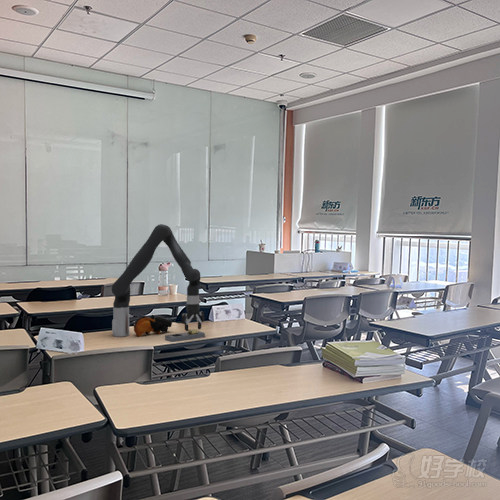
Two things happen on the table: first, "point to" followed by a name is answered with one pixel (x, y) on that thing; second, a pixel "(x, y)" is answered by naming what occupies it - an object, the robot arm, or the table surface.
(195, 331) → the yellow cube
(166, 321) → the toy guinea pig
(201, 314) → the robot arm
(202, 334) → the grey flat block
